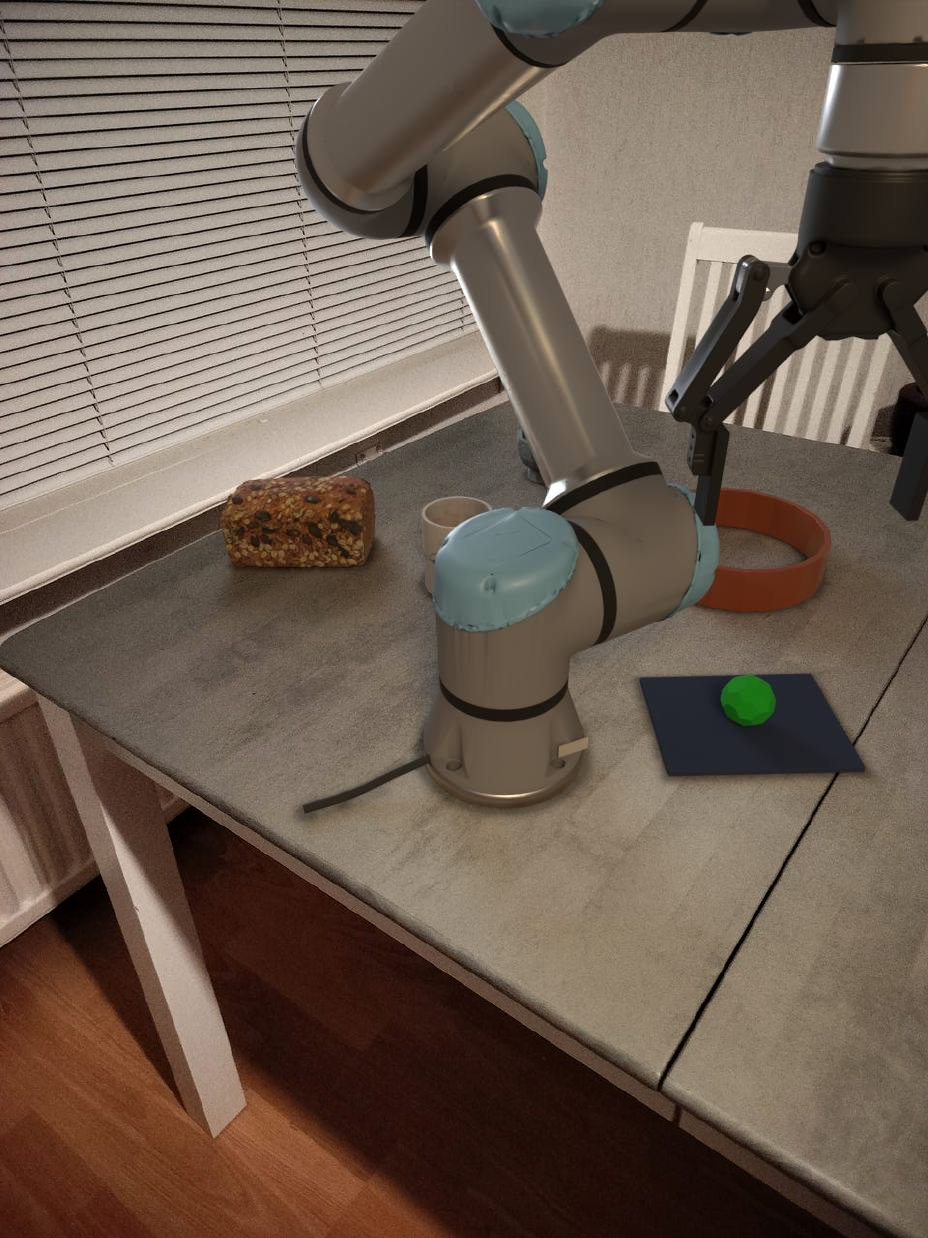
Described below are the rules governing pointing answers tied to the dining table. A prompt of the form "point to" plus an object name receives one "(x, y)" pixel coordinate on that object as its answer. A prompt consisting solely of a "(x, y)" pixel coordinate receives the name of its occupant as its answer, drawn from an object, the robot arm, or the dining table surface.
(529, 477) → the mortar and pestle
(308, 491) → the bread
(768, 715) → the polyhedron
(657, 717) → the mat
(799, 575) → the orange bottomless ring
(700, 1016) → the dining table surface
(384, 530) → the dining table surface
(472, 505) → the mug
